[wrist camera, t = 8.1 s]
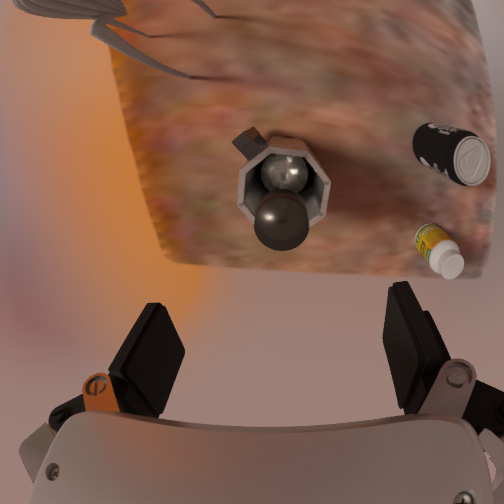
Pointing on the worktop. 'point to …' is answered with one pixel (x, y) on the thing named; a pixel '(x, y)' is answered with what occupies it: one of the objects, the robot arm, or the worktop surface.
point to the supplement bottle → (439, 251)
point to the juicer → (100, 23)
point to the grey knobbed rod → (282, 203)
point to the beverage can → (452, 153)
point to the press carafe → (251, 180)
